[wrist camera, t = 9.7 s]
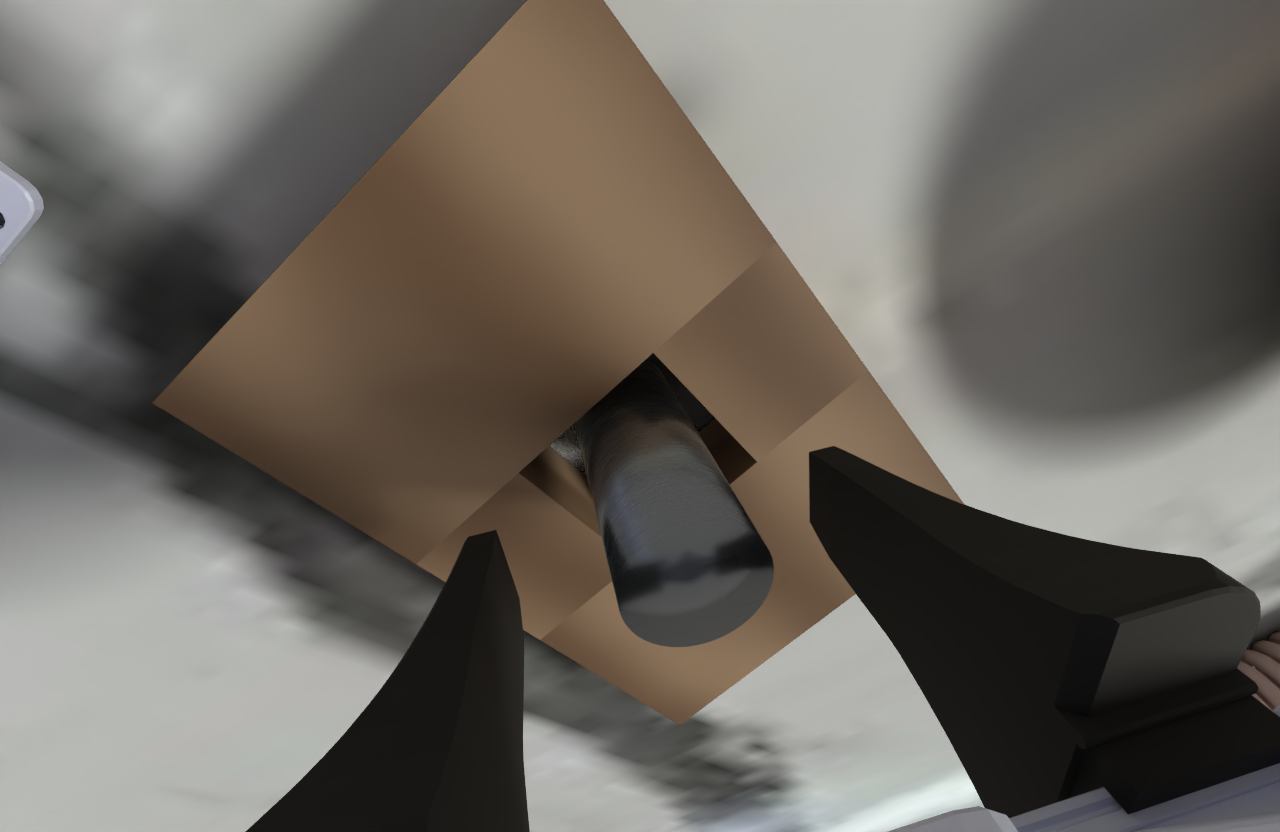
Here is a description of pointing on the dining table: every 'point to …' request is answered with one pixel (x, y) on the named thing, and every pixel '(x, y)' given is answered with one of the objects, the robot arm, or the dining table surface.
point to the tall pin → (669, 518)
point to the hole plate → (548, 346)
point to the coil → (1264, 669)
